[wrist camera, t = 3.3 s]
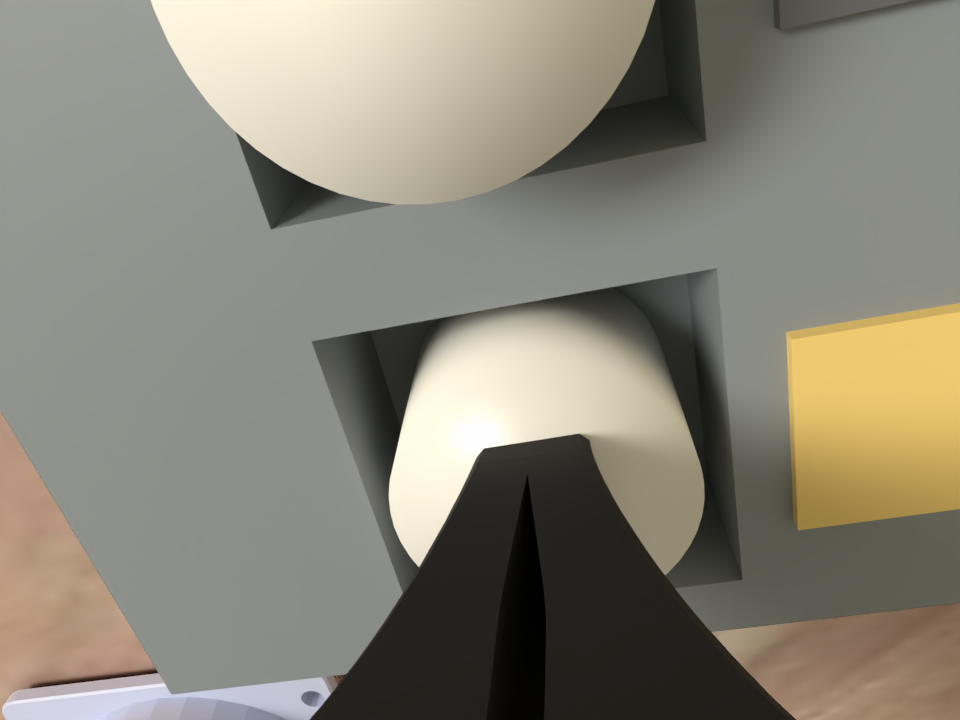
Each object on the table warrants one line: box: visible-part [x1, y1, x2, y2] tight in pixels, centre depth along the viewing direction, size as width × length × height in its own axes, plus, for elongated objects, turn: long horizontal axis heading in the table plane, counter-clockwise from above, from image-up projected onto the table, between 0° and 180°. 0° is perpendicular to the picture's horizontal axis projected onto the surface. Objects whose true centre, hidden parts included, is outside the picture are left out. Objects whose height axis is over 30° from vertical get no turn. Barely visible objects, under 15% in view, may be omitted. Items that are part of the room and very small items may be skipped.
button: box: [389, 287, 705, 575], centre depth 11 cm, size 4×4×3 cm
